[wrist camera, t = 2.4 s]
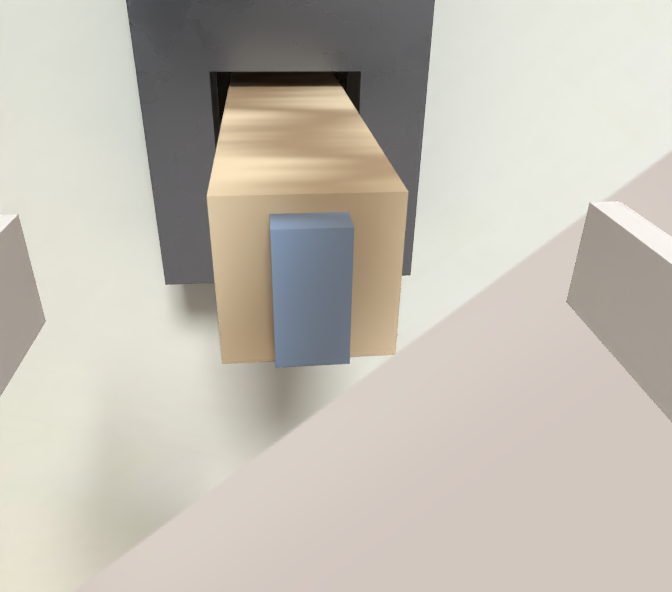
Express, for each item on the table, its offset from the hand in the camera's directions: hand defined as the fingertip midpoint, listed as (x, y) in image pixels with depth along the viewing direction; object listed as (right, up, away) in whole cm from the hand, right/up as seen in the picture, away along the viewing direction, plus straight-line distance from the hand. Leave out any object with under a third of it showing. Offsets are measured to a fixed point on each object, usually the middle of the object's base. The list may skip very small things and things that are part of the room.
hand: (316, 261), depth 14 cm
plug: (-2, +6, +11) cm, 13 cm away
